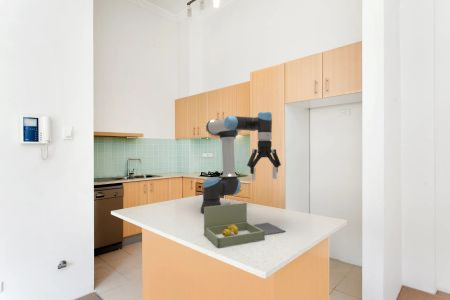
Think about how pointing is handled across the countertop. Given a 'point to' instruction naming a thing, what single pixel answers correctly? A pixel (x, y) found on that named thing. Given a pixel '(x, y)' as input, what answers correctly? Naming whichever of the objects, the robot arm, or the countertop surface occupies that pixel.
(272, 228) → the pad
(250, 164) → the robot arm
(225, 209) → the case
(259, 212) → the countertop surface
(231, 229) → the pressure relief valve
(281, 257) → the countertop surface
